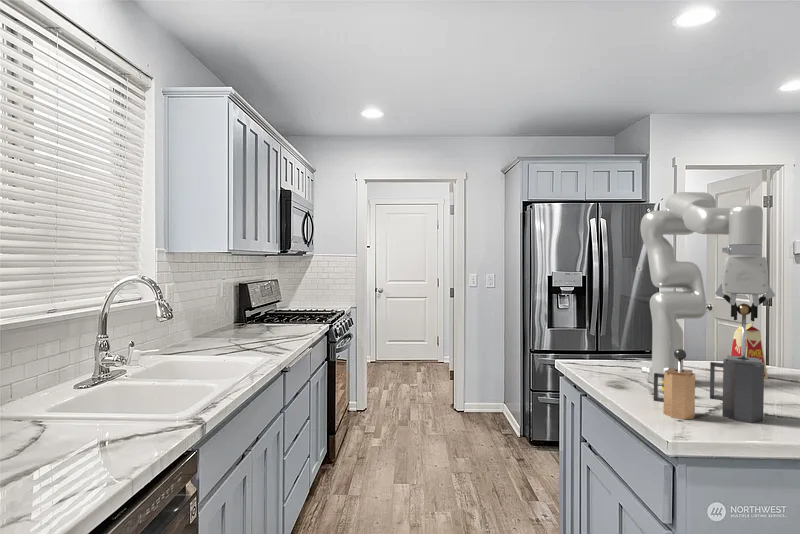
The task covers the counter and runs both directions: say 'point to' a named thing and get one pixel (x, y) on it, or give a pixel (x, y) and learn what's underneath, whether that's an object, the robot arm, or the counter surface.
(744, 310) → the plunger rod
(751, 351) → the milk carton
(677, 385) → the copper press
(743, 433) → the counter surface
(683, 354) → the grey ball handle
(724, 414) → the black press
